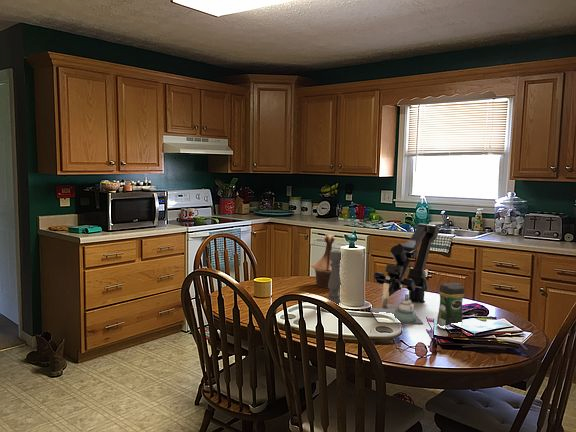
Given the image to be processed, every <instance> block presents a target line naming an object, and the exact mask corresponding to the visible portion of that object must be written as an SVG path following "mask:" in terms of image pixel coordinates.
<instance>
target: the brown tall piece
mask: <svg viewBox="0 0 576 432" xmlns="http://www.w3.org/2000/svg"><path fill="white" fill-rule="evenodd" d="M324 236H325V237H323V239H324V241H325V243H326V247H325V252H324V253H323V255H322V257H321V258H320V259H319V260H318V261H316V262H315V263H313V264H311V265H310V267H311V268H313V269H314V271H315V285H316V286H317V287H320V288H323V289H324V288H325V289H329V287H328V283H329V279H330V276H331V268H332V267H331V266H330V264H331V263H332V262H331V258H330V251H331V250H333V243H334V242H335V241H336V238H335V235H334V234H331V233H329V234H324Z"/></svg>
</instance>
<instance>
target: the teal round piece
mask: <svg viewBox="0 0 576 432" xmlns="http://www.w3.org/2000/svg"><path fill="white" fill-rule="evenodd" d="M416 315H417V312H416V311H415V310H413V313H411V314H405V313H401V312H398V310H395V313H394V316H395V318H397V319H398V320H399V321H401V322H415V321H416Z"/></svg>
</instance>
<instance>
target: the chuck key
mask: <svg viewBox="0 0 576 432" xmlns="http://www.w3.org/2000/svg"><path fill="white" fill-rule="evenodd" d="M408 297H409V293H408V294H407V293H406V294H405V295H404V298H402V299H401V301H400V302H398V303H397V305H395V304H390V303H389V298H390V296H389V283H383V284H382V297H381V298H382V299H381V308H383V309H397V310H398V312H401V313H405V314H411V313H413V311H415V309H414V308H415V307H414V306H415V304H414V303H412V302H411V300H409V298H408Z"/></svg>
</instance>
